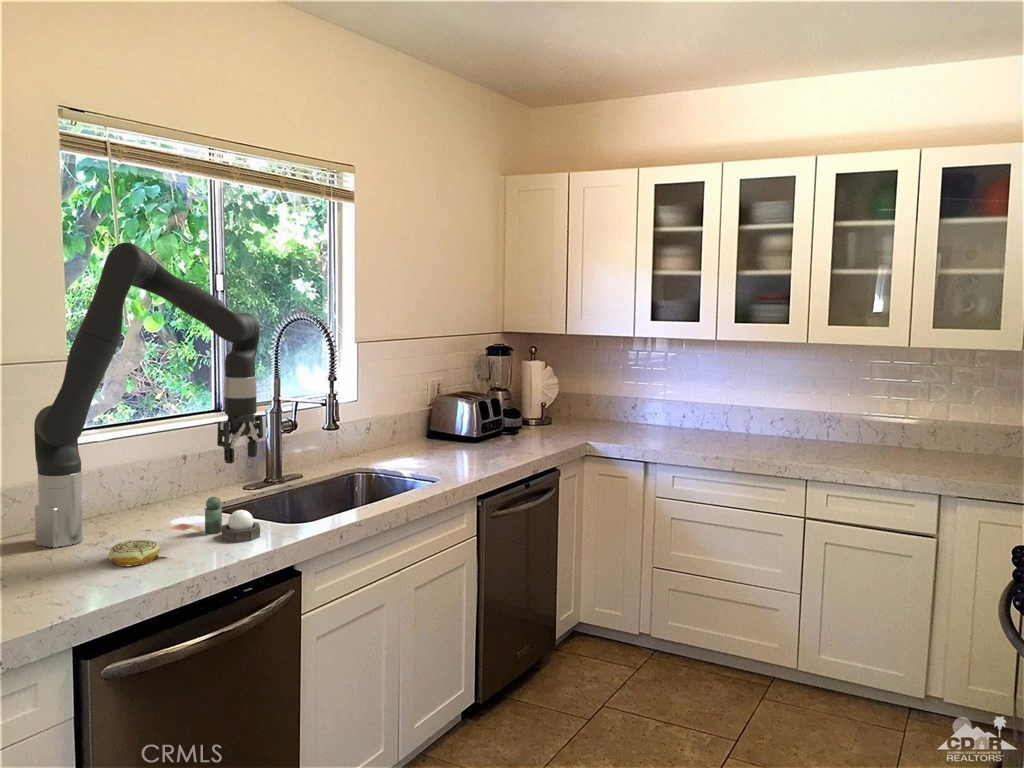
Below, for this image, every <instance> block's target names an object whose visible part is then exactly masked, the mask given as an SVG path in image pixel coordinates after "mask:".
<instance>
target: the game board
mask: <svg viewBox="0 0 1024 768" xmlns="http://www.w3.org/2000/svg"><path fill="white" fill-rule="evenodd" d="M170 529H173V530H179V531H185V532H192V533H197V534H203V535H208V536H217V535H219V534H221V539H222V541H225V542H229V543H247V542H251V541H254V540H256V539H257V540H258V539H260V538H261V526H260V524H259V522H254V521H253V526H252V528H251V529H249V530H238V531H236V530H230V528H229V526H228V523H225V524H222V532H221V533H218V534H206V533H205V526H198V525H193V524H186V523H180V524H177V525H175V526H172V527H170Z"/></svg>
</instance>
